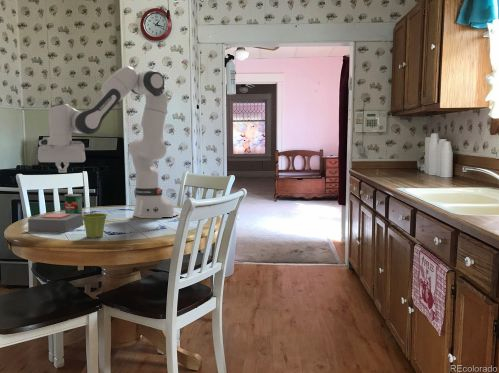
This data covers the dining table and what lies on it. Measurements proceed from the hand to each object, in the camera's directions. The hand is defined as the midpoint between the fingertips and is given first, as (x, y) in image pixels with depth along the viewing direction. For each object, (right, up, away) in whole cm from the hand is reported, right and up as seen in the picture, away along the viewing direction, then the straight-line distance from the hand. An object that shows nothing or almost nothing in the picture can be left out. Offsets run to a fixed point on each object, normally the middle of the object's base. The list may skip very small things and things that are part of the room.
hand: (62, 172), depth 197 cm
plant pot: (+21, -26, -20) cm, 39 cm away
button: (-1, -23, -5) cm, 23 cm away
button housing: (-1, -24, -5) cm, 24 cm away
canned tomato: (-4, -21, +24) cm, 32 cm away
